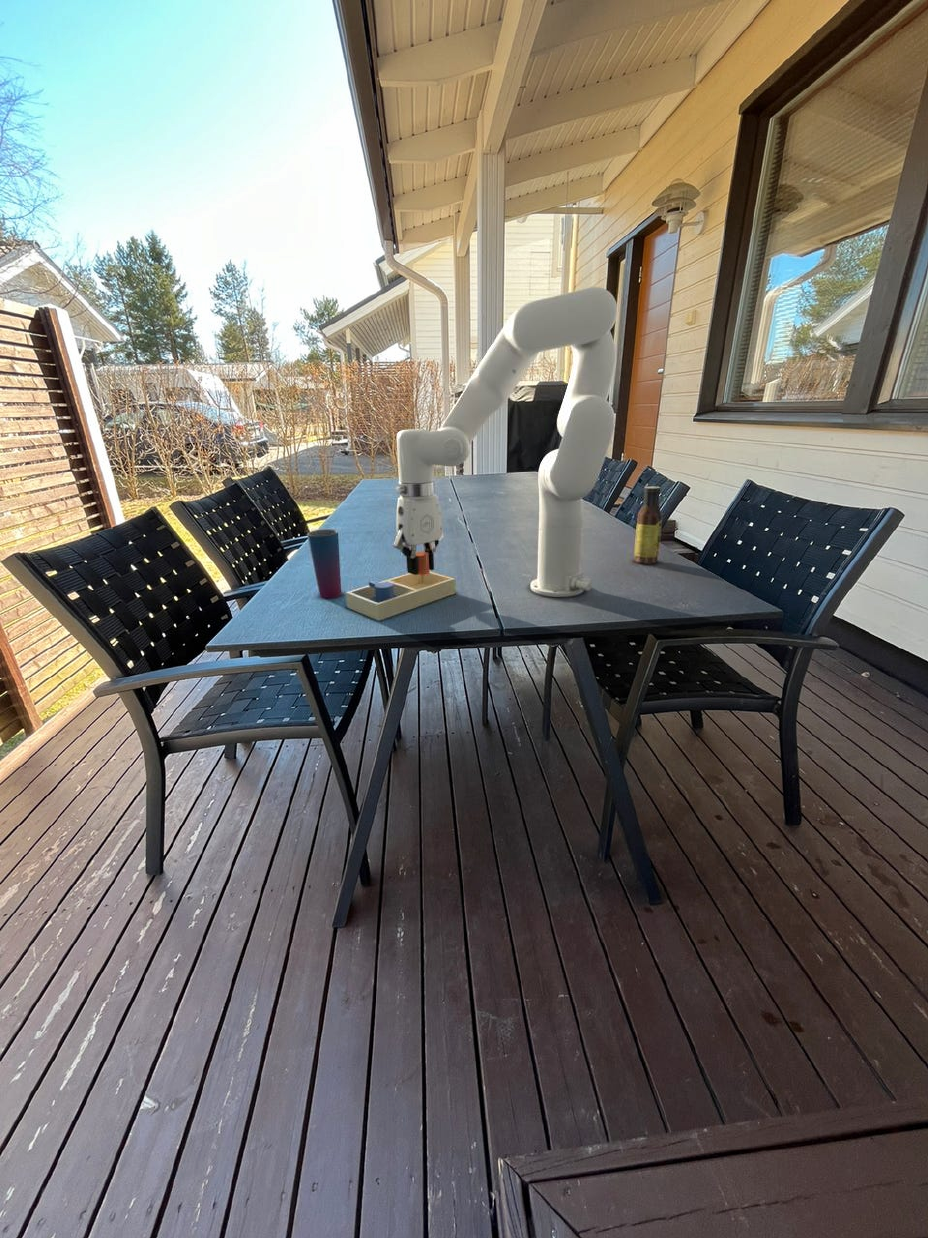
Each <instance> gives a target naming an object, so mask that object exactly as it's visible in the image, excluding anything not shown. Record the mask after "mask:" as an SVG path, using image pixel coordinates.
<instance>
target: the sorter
mask: <svg viewBox="0 0 928 1238" xmlns="http://www.w3.org/2000/svg"><path fill="white" fill-rule="evenodd" d="M381 582H390V583H393V588H394V598H392V599H389V600H386V601H383V602H380V603H377V602H376V595H375V588H373V587H370V586H369V585H365V586H363V587H359V588H356V589H352V590H350V591H346V592H345V600H346V608H347V609H350V610H352V611H354V612H357V613H359V614H361V615H364V616H366V617H369V618H371V619H373V620H376V621H378V622H380V621H382V620H385V619H387V618H390V617H394V616H396V615H399V614H402V613H405V612H407V611H410V610H413V609H416V608H419V607H421V606H424V605H426V604H429V603H432V602H435V601H438V600H440V599H444V598H446V597H449V596H452V595H454V594H457V592H456V578H454V577H450V576H447V575H443V574H440V573H437V572H433V571H430V572H429V573H428V574H425V575H414V574H411V573H406V574H402V575H399V576H395V577H391V578H389V579H386V580H383V581H379V582H378V583H381Z"/></svg>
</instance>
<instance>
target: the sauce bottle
mask: <svg viewBox="0 0 928 1238" xmlns="http://www.w3.org/2000/svg"><path fill="white" fill-rule="evenodd" d="M660 494H661V487H660V486H653V485H652V486H651V485H650V486H644V489H643V495H644V497H643V505H642V506H641V508H640V510H639V511H638V514H637V523H636V531H635V542H634V553H633V555H634V562H636V563H638V564H643V565H652V564H656V563H657V562H658V557H659V555H660V554H659V553H660V545H661V544H660V543H661V535H662V525H663V515H662V511H661V506H660Z"/></svg>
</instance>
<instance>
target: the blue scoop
mask: <svg viewBox="0 0 928 1238" xmlns="http://www.w3.org/2000/svg"><path fill="white" fill-rule="evenodd" d="M380 582H381V583H379V582H378V581H376V580H371V581H368V586H370V587H373V588H375V595H376V602H377V603H380V602H383V601H386V600H389V599H392V598H394V588H393V583H390V582H382V581H380Z"/></svg>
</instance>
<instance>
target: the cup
mask: <svg viewBox="0 0 928 1238" xmlns="http://www.w3.org/2000/svg"><path fill="white" fill-rule="evenodd" d="M306 535H307V541H308V544H309V550H310V555H311V560H312V563H313V564H312V565H313V569H314V574H315V579H316V584H317V588H318V594H319V597H320V598H322V599H336V598H338V597H340V596H342V580H341V579H342V577H341V560H340V542H339V541H340V540H339V531H338V529H333V528H324V529H314V530H311V531H308V532H307V534H306Z"/></svg>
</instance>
